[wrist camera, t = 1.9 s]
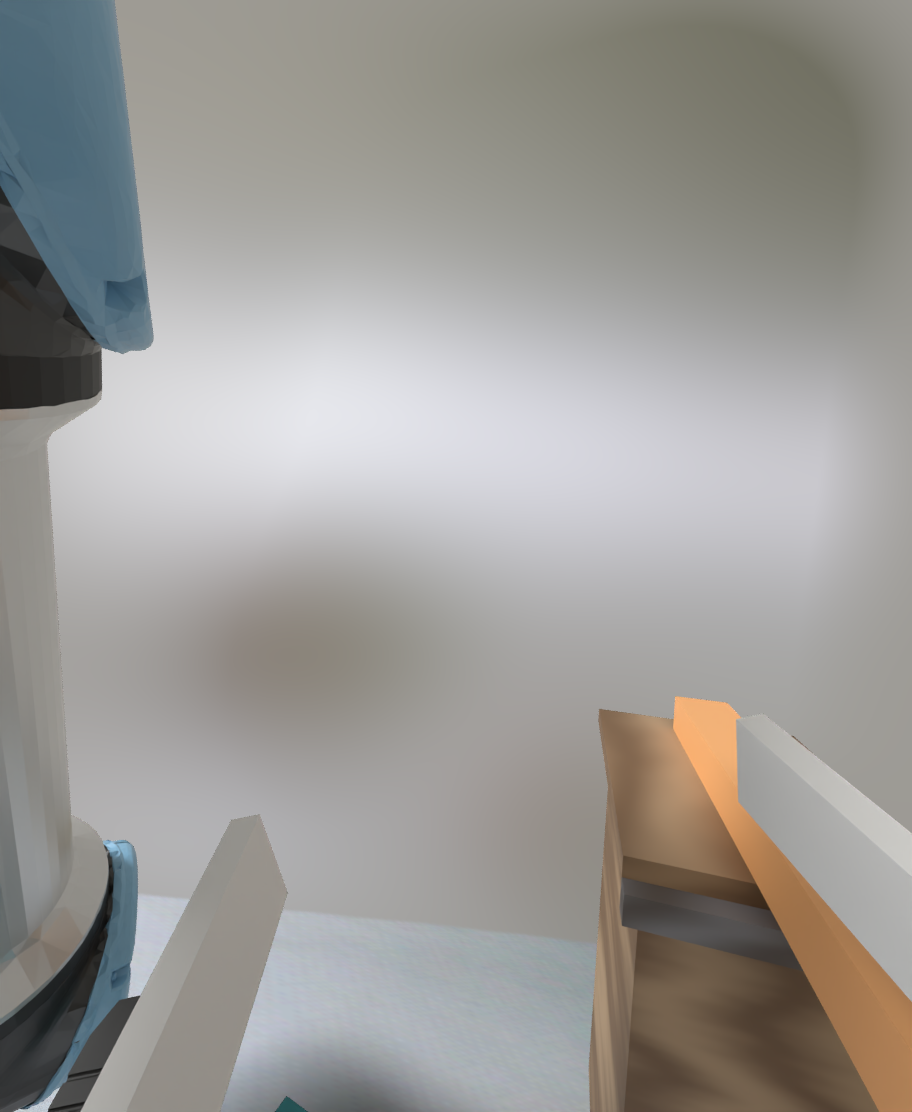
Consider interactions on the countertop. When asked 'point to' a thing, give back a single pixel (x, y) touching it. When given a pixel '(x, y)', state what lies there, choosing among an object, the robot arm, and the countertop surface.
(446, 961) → the countertop surface
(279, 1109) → the teal l-shaped bracket
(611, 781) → the tower
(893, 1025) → the tan flat bar
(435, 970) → the countertop surface
